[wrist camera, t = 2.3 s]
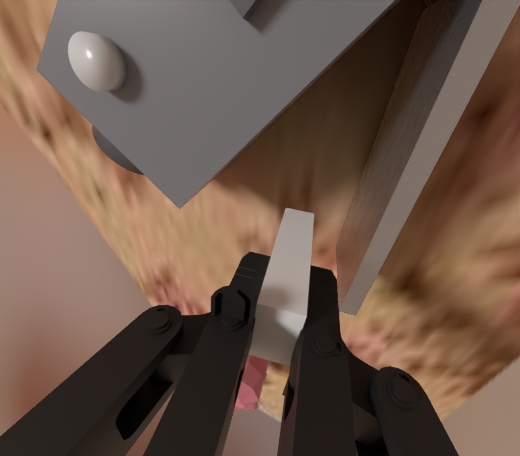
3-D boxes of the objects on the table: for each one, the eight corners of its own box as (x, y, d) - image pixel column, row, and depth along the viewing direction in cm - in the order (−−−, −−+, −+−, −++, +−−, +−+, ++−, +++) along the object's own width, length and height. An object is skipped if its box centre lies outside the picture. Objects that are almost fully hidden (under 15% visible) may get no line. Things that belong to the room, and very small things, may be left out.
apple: (268, 352, 31) (246, 452, 23) (204, 330, 32) (162, 418, 24) (288, 305, 26) (270, 413, 18) (212, 280, 27) (160, 371, 18)
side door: (433, -32, 11) (541, -142, 6) (478, -28, 11) (641, -139, 5) (333, 246, 20) (336, 312, 15) (357, 251, 20) (370, 322, 14)
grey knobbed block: (326, -272, 9) (323, -1085, 3) (439, -38, 11) (584, -186, 5) (121, 95, 18) (8, 105, 12) (207, 185, 21) (152, 234, 14)
